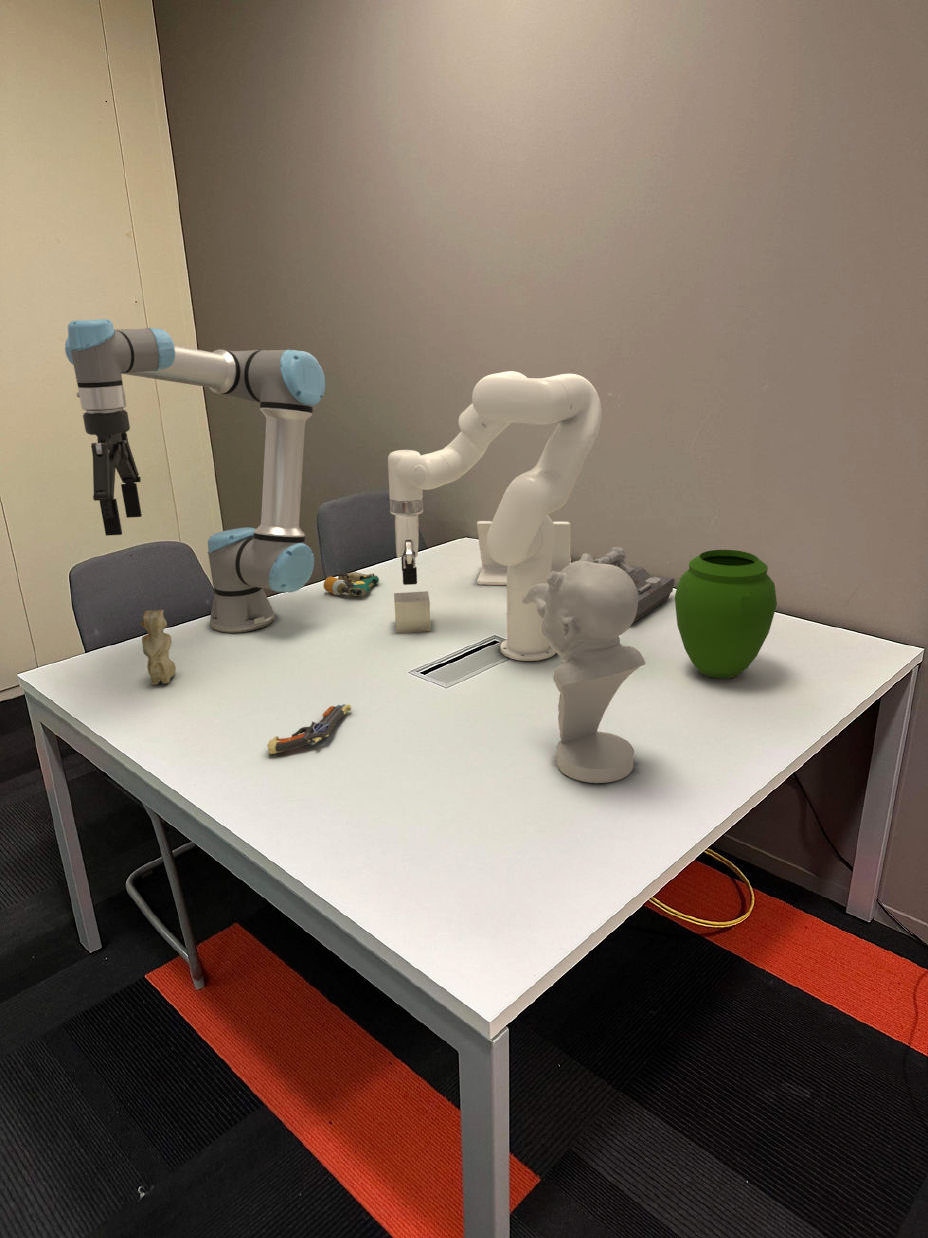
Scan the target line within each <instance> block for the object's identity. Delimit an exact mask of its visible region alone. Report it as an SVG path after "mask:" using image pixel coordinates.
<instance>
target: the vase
mask: <svg viewBox="0 0 928 1238" xmlns="http://www.w3.org/2000/svg"><path fill="white" fill-rule="evenodd" d="M768 567H769V566H768V565H767V564H766V563H765V562H764V561H763V560H762V559H761V558H759V557H758V556H756V555H755V554H753V553H750V552H747V551H742V550H735V549H713V550H706V551H703V552H702V553H700V554H698V555H697V556H695V557H694V558H692V559H690V560H689V562H688V569H687V570H686V571H684V573H683V574H682V575H681V576H680V577H679V580H678V583H677V587H676V590H675V594H674V604H675V605H674V607H675V617H676V624H677V629H678V631H679V635H680V638H681V641H682V646H683V648H684V650H685V653H686V655H687V657H688V658H689V660H690V662H691V663H692V665H693V666H694V667H695V669H696V670H697V671H698V672H699V673H700V674H702V675H704V676H706V677H709V678H713V679H718V680H719V679H722V680H725V679H732V678H735V677H739V676H740V675H741V674H742V673H743V672H745V670H747V669H748V668H749V666H751V664H752V663H753V662H754V660H755V659H756V658H757V657H758V655H759V653H760V650H761V649H762V647H763V645H764V643H765V641H766V640H767V638H768V635H769V633H770V630H771V627H772V623H773V619H774V616H775V612H776V610H777V605H778V601H777V600H778V599H777V593H776V585H775V582H774V581H773V579H772V578H771V577H770V576H769V574H768V569H769V568H768Z"/></svg>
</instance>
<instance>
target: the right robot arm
mask: <svg viewBox="0 0 928 1238" xmlns="http://www.w3.org/2000/svg"><path fill="white" fill-rule="evenodd" d="M471 402H472V403H470V404H469V405H468V406H467V407H466V409H464V410H463V411H462V412H461V413H460V415H459V417H458V422H457V423H458V427H459V429H460V432H459V433H458V434H457V435H456V436H455V437H454V438H453V439H452V440H451V442H449V443H448V444H447V445H446V446H445V447H444V448H442V449H439V450H436V451H432V452H429V453H425V454H422V455H421V453H420V452H419V451H417V450H414V449H413V450H412V449H399V450H394V451H391V452H390V453H389V454H388V457H387V469H388V470H387V471H388V491H389V512H390V514H391V515H393V516H394V535H395V536H394V537H395V554H396V558H398V559H400V558H401V572H402V584H403V585H404V586H407V585H417V584H418V571H417V569H418V568H417V566H416V558H417V557H418V556H419V539H420V538H419V535H420V534H419V533H420V531H419V515H421V514H423V513H424V497H423V496H424V495H423V494H424V493H423V491H429V490H434V489H437V488H440V487H442V486H445V485H447V484H450V483H453V482H456V481H458V480H459V479H460V478H462V477H463V476H464V475H465V474H467V472H469V470H470V469H472V468H473V467H474V466H475V465H476V464H477V463H478V462H479V461H481V459H482V457H483V456H484V455H485V453H486V451H487V450H488V447H489V445H490V444H491V443H492V442H493V441H494V440H495V439H497V437H498V436H499V435H500V434H501V433H503V431H505V430H506V429H507V427H509V426H510V425H511V424H513V423H515V424H524V425H538V426H546V425H551V424H555V423H557V425H556V427H555V428H554V430H553V432H552V433H551V435H550V436H549V438H548V439H547V442H546V444H545V446H544V448H543V451H542V454H541V455H540V457H539V459H538V461H537V463H536V465H535V466H534V467H533V468H531V469H530V470H528V471H525V472H523V473H521V474H519V475H518V476H515V478H514V479H513V480H512V481H511V482H510V483H509V484H508V486H507V488H506V490H505V491H504V493H503V495H502V498H501V500H500V503H499V505H498V507H497V509H496V512H495V514H494V516H493V518H492V520H491V521H492V523H491V525H490V528H489V531H488V534H487V549H488V552H489V554H490V556H491V557H492V559H493V560H494V561H496V562H497V563H499V564H501V565H505V566H507V585H506V639H505V640H503V641H502V642H501V643H500V646H499V647H500V653H501V654H502V655H503V656H504V657H506V658H508V659H512V660H514V661H515V660H516V661H522V662H535V661H536V662H537V661H543V660H547V659H550V658H552V657H554V656H555V655H556V654H557V653H556V652H555V651H554V650H553V649H552V648H551V646H550V644H549V643H548V642H547V640H546V637H545V636H544V634H543V633H542V623H543V621H544V619H543V618H541V617H540V615H539V614H538V612H537V604H536V603H535V602H533V603H528V604H523V602H522V601H523V599H524V597H525V596H526V595H527V593H528V591H529V590H530V588H531V587H533V586H534V585H536V584H539V583H547V576H548V574H549V573H550V572H551V567H552V556H553V550H554V544H555V527H554V523H553V522H554V521H553V519H552V518H551V517H550V515H551V514H553V513H555V512H557V511H558V510H560V509H562V508H563V506H565V504H567V502H568V500H569V498H570V495H571V493H572V492H573V489H574V487H575V484H576V482H577V481H578V478H579V477H580V474H581V472H582V470H583V468H584V465H585V463H586V461H587V459H588V457H589V454H590V453H591V450H592V449H593V446H594V444H595V443H596V440H597V437H598V435H599V432H600V429H601V424H602V416H603V413H602V412H603V411H602V410H603V409H602V403H601V398H600V396H599V394H598V392H597V390H596V388H595V386H594V385H593V384H592V383H591V382H590V381H589V380H588V379H587V378H585V377H584V376H583V375H580V374H576V373H561V374H556V375H551V376H548V377H543V378H542V377H541V378H537V377H535V378H533V377H527V376H526V375H524V374H523V373H521V372H518V371H513V370H509V371H508V370H507V371H502V372H498V373H491V374H488V375H486V376H483V377H482V378H481V379H479V380H478V382H477V383H476V384H475V386H474V388H473V390H472V394H471Z"/></svg>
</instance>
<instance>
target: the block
mask: <svg viewBox="0 0 928 1238" xmlns="http://www.w3.org/2000/svg"><path fill="white" fill-rule="evenodd" d="M393 599H394V600H393V602H394V619H395V633H396V634H410V633H411V634H412V633H426V632H431V631H432V623H431V606H430V605H431V604H430V603H431V602H430V596H429V591H408V592H394V593H393Z"/></svg>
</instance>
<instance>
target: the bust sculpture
mask: <svg viewBox="0 0 928 1238" xmlns="http://www.w3.org/2000/svg"><path fill="white" fill-rule="evenodd" d="M522 602H523V604H528V603H533V602H535V603H536V604H537V612H538V614H539V615H540V617H541V618H543V619H544V621H543V623H542V633H543V634H544V636H545V637H546V640H547V642H548V643H549V644H550V646H551V648H552V649H553V650H554V651H555V652H556V654H557V655H558V656H559V657H560V658H561V659H562V660H563V662H562V663H560V664H559V665H557V666H556V668H555V669H554V670H553V673H552V679H553V682H554V684H555V686H556V688H557V690H558V691H559V697H558V705H557V706H558V707H557V711H558V714H557V717H558V718H557V720H558V729H559V741H558V743H556V744H557V745H556V750H555V751H556V752H555V753H556V756H555V759H556V763H555V764H556V766H557V768H558V770H559V771H560V772H561V773H563V774H564V775H565V776H567V777H569V778H570V779H573V780H576V781H580V782H584V783H592V784H607V783H612V782H616V781H620V780H622V779H624V778H626V777H627V776H629V775H630V774H631V772H632V771H633V769H634V760H635V759H634V757H635V750H634V747H633V746H632V744H631V743H630V742H629V741H628V740H626V739H625V738H623V737H621V736H619V735H616V734H614V733H610V732H607V731H606V732H605V731H598V729H599V727H600V725H601V722H602V719H603V718H604V715H605V713H606V711H607V709H608V707H609V705H610V703H611V701H612V699H613V698H614V696H615V694H617V692H618V689H619V688H620V687H621V685H622V684H623V683H624V682H625V680H627V679H628V677H629V676H631V675H632V674H633V673H634V672H635V671H637V670H638V669H640V668H641V667H642V666H644V665H646V660H645V658H644V657H643V655H642V653H641V652H640V650H639V649H638V648H635V647H632V646H630V645H623V644H621V637H619V636H621V635H623V634H625V632H627V630H629V629H630V627H631V626H632V624H634V623H633V621H634V619H635V616H636V612H637V607H638V591H637V588H636V585H635V583H634V582H633V580H632V579H631V577H630V576H629V575H628V574H627V573H626V572H625V571H624V570H622V569H621V568H619V567H617V566H614V565H609V564H597V563H594V559H593V556H592V555H591V554H590V553H582V554H581V556H580V558H579V560H575V561H572V562H571V564H569V565H568V566H566V567H565V568H564V569H563V570H562V571H561V573H560V572H554V571H552V572H550V573H549V574H548V576H547V583H539V584H536V585H534V586H533V587H531V588H530V590H529V591H528V593H527V595H526V596H525V597H524V599H523V601H522Z"/></svg>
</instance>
